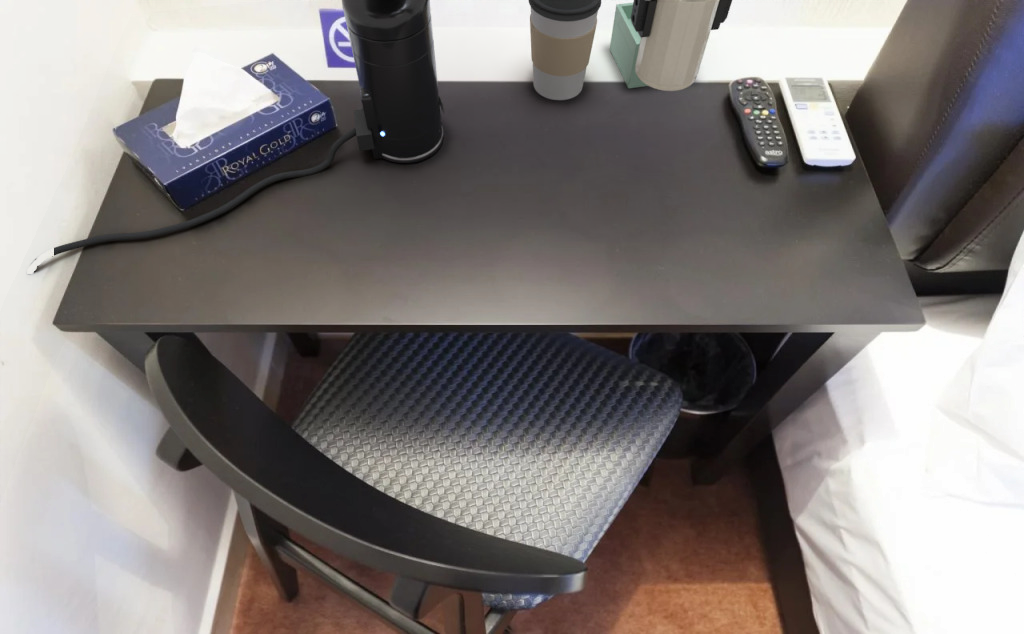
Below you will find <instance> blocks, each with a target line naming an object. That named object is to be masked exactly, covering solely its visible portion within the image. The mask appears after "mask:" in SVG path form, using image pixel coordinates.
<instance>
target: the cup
mask: <svg viewBox="0 0 1024 634" xmlns="http://www.w3.org/2000/svg"><path fill="white" fill-rule="evenodd" d="M719 1H720V0H657V3H656V8H655V12H654V17H653V22H652V27H651V31H650V35H649V37H642V38H641V40H640V45H639V50H638V55H637V61H636V66H635V71H636V74H637V76H638V78H639V79H640V80H641V81H642V82H643V83H645V84H646V85H648V86H647V87H650V88H653V89H655V90H659V91H665V92H676V91H677V92H678V91H681V90H685V89H686V88H689V87H690V86H691V85H693V84H694V82H695V81H696V79H697V76H698V74H699V73H700V68H701V65H702V62H703V58H704V55H705V51H706V49H707V44H708V42H709V41H708V40H709V38H710V34H711V31H712V30H711V28H712V24H713V21H714V17H715V14H716V11H717V7H718V4H719Z"/></svg>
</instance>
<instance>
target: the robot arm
mask: <svg viewBox="0 0 1024 634" xmlns="http://www.w3.org/2000/svg"><path fill="white" fill-rule="evenodd" d="M632 3H633V8H632V13H631V21H632V24H633V26H634V28H635V30H636V32H638V33H639V36H640V37H641V38H642V37H649V35H650V31H651V27H652V22H653V17H654V12H655V8H656V3H657V0H633V2H632ZM732 3H733V0H720V1H719V4H718V7H717V11H716V14H715V17H714V21H713V24H712V28H711V31H716V30H719V29H720V27H721V24H723V23H724V22H725V21H726V20H727V19H728V17H729V13H730V12H729V11H730V9H731V6H732ZM341 5H342V10H343V16H344V20H345V24H346V28H347V34H348V38H349V43H350V47H351V52H352V57H353V61H354V67H355V71H356V76H357V80H358V88H359V94H360V100H361V104H362V105H361V106H362V108H360V109H354V110H353V118H354V126H355V127H353V128H352V129H350V131H348V132H346V133H345V134H343V135H342V136H340V137H339V138H338V139H336V140H335V141H334V142H333V144H331V146H330V148H329V150H328V153H327V155H326V156H327V157H326V159H325V160H324V161H322V162H321V163H320V164H318V165H315V166H313V167H310V168H305V169H300V170H290V171H285V172H280V173H276V174H273V175H270V176H268V177H266V178H264V179H262V180H260V181H258V182H257V183H255V184H253V185H252V186H250V187H249V188H247V189H246V190H244V191H243V192H242V193H240V194H239V195H237V196H236V197H234V198H233V199H231V200H230V201H228V202H227V203H225V204H223V205H221V206H219V207H218V208H216V209H213V210H210V211H209V212H206V213H204V214H201V215H199V216H196V217H194V218H191V219H189V220H186V221H182V222H179V223H176V224H172V225H169V226H165V227H161V228H156V229H152V230H146V231H135V232H120V233H109V234H107V233H106V234H101V235H97V236H93V237H88V238H85V239H81V240H77V241H72V242H68V243H64V244H61V245H58V246H55V247H53V248H54V256H53V257H55V256H57V255H61V254H62V253H67V252H69V251H73V250H77V249H81V248H85V247H86V248H87V247H89V246H93V245H97V244H101V243H107V242H108V243H109V242H116V241H117V242H119V241H136V240H144V239H151V238H157V237H161V236H165V235H168V234H172V233H176V232H180V231H183V230H186V229H189V228H193V227H195V226H198V225H200V224H204V223H205V222H208V221H210V220H212V219H215V218H216V217H219V216H221V215H223V214H225V213H227V212H228V211H229V212H230V211H231V210H232V209H234V208H235V207H237V206H238V205H240V204H241V203H243V202H244V201H245V200H247V199H248V198H250V197H251V196H252V195H254V194H255V193H257V192H259V191H260V190H261V189H263V188H265V187H267V186H268V185H271V184H273V183H276V182H278V181H282V180H286V179H293V178H301V177H308V176H311V175H315V174H318V173H320V172H322V171H324V170H326V169H327V168H328V167H330V166H331V165H332V164H333V162H334V159H335V157H336V153H337V151H338V150H339V148H340V147H342V146H343V145H344V144H345V143H346V142H348V141H350V140H351V139H353V138H354V137H356V140H357V144H358V148H359V151H360V152H362V151H363V152H364V151H370V150H371V151H372V155H373V159H374V160H379V159H384V160H386V161H388V162H391V163H396V164H412V163H413V164H415V163H419V162H420V161H424V160H426V159H429V158H430V157H433V155H435V154H436V153H437V152H438V151H439V150H440V148H441V146H442V144H443V141H444V129H443V120H442V116H441V115H442V114H441V110H442V113H443V114H445V110H444V103H443V102H442V99H441V97H440V95H439V94H440V93H439V83H438V74H437V62H436V61H437V60H436V53H435V41H434V32H433V30H434V29H433V22H432V13H431V11H432V10H431V0H341Z"/></svg>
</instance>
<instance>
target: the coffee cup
mask: <svg viewBox="0 0 1024 634" xmlns="http://www.w3.org/2000/svg"><path fill="white" fill-rule="evenodd" d="M528 4H529V6H530V15H529V30H530V55H531V63H532V82H533V83H532V84H533V88H534V90H535V91H536V93H537V94H539V95H540V96H542V97H544V98H546V99H547V100H553V101H566V100H570V99H573V98H575V97H577V96H578V95H579V94H581V92H582V90H583V87H584V81H585V78H586V77H585V76H586V73H587V67H588V66H589V64H590V59H591V54H592V48H593V44H594V40H595V35H596V31H597V25H598V14H599V10H600V8H601V6H602V0H528Z"/></svg>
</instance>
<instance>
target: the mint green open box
mask: <svg viewBox="0 0 1024 634" xmlns="http://www.w3.org/2000/svg"><path fill="white" fill-rule="evenodd" d="M632 8H633V2H625V3H618V4H617V3H616V5H615V11H614V18H613V24H612V31H611V37H610V45H609V51H610V54H611V55H612V57H613V59H614V62H615V64H616V66H617V68H618V70H619V72H620V74H621V76H622V79H623V80H624V82H625V85H626V88H627V89H635V88H643V87H649V86H648V85H646V84H645V83H643V82H642V81H641V80H640V79H639V78H638V76H637V74H636V71H635V66H636V61H637V55H638V50H639V45H640V40H641V37H640V36H639V33H638V32H636V30H635V28H634V26H633V24H632V21H631V13H632Z"/></svg>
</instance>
